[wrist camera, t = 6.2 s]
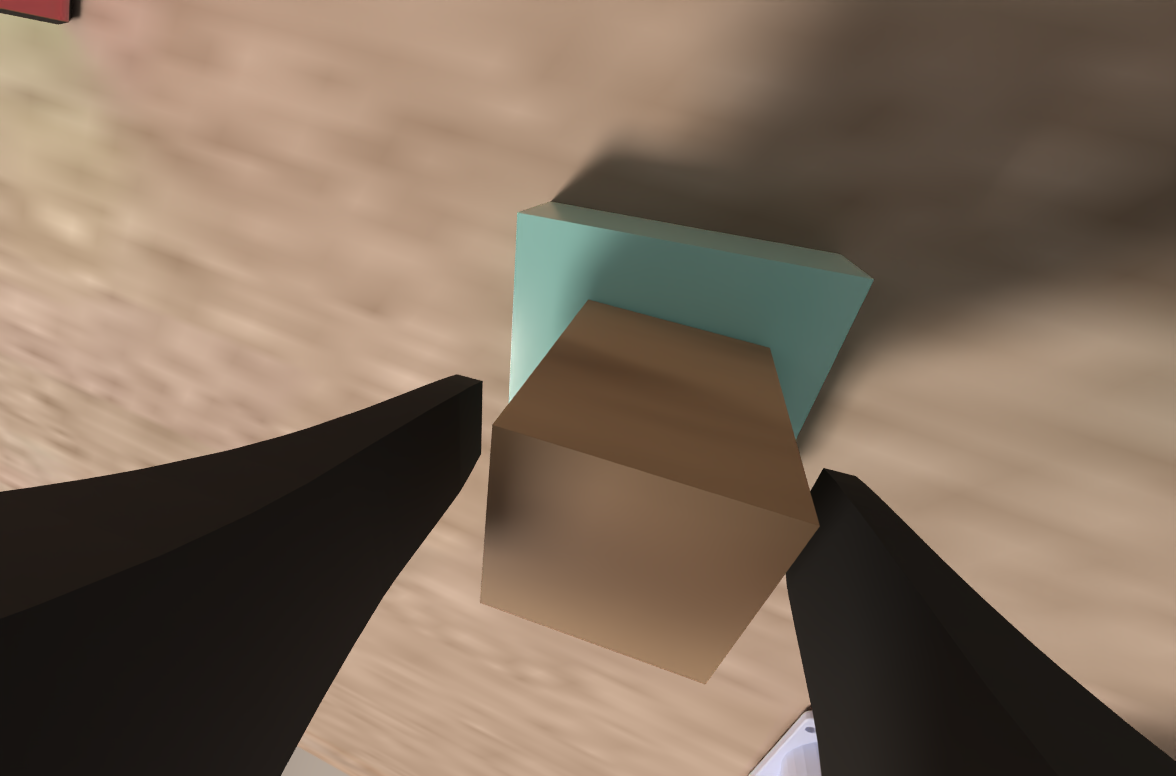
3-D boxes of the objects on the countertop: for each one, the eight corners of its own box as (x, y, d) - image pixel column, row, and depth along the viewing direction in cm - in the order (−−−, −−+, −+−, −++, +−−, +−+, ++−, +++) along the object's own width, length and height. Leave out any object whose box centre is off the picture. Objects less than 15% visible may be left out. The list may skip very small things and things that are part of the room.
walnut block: (707, 482, 12) (705, 684, 8) (562, 437, 13) (479, 602, 8) (769, 347, 10) (819, 525, 5) (588, 299, 11) (492, 424, 6)
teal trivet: (741, 471, 16) (749, 534, 13) (536, 419, 17) (505, 467, 14) (836, 251, 12) (874, 279, 9) (554, 199, 13) (517, 212, 10)
